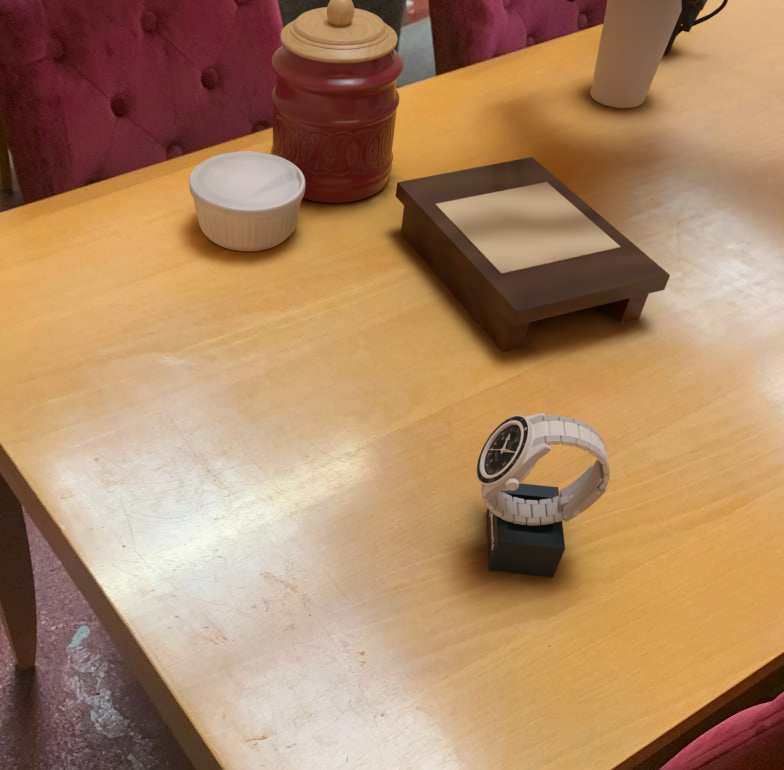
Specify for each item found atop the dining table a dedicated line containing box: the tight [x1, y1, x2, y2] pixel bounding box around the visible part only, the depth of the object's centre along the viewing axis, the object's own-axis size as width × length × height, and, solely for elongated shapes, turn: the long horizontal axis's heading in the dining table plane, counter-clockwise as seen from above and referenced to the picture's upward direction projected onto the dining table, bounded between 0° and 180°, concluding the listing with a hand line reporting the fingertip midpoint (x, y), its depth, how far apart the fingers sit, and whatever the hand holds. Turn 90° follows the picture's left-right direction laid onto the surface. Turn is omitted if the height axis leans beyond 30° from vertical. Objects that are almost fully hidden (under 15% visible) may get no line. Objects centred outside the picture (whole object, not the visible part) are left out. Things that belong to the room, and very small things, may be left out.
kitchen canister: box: [270, 0, 404, 204], centre depth 90 cm, size 13×13×18 cm
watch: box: [476, 412, 611, 578], centre depth 58 cm, size 6×8×11 cm
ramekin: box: [188, 150, 305, 252], centre depth 87 cm, size 11×11×5 cm
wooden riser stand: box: [395, 156, 671, 352], centre depth 82 cm, size 22×15×5 cm
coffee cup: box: [589, 0, 682, 109], centre depth 104 cm, size 10×10×15 cm
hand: (632, 4), depth 99 cm, fingers open, 13 cm apart
